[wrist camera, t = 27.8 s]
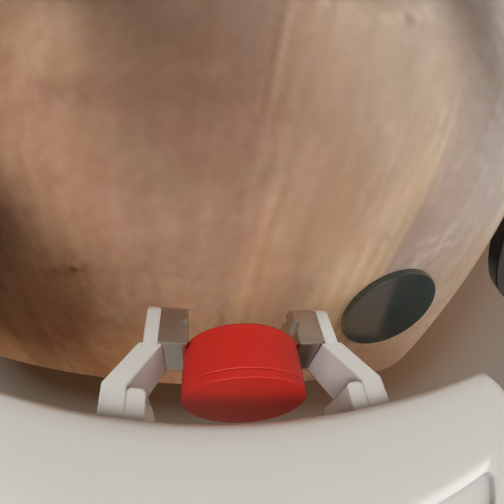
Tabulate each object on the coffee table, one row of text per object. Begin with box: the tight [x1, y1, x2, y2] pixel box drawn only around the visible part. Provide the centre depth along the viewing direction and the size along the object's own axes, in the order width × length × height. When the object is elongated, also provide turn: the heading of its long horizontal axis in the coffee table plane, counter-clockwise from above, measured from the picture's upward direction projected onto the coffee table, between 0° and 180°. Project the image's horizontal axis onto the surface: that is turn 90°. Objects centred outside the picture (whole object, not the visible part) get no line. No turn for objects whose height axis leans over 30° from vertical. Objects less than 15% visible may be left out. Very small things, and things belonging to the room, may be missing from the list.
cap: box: [181, 324, 306, 423], centre depth 9 cm, size 4×4×2 cm
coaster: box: [342, 269, 435, 343], centre depth 26 cm, size 10×10×1 cm
